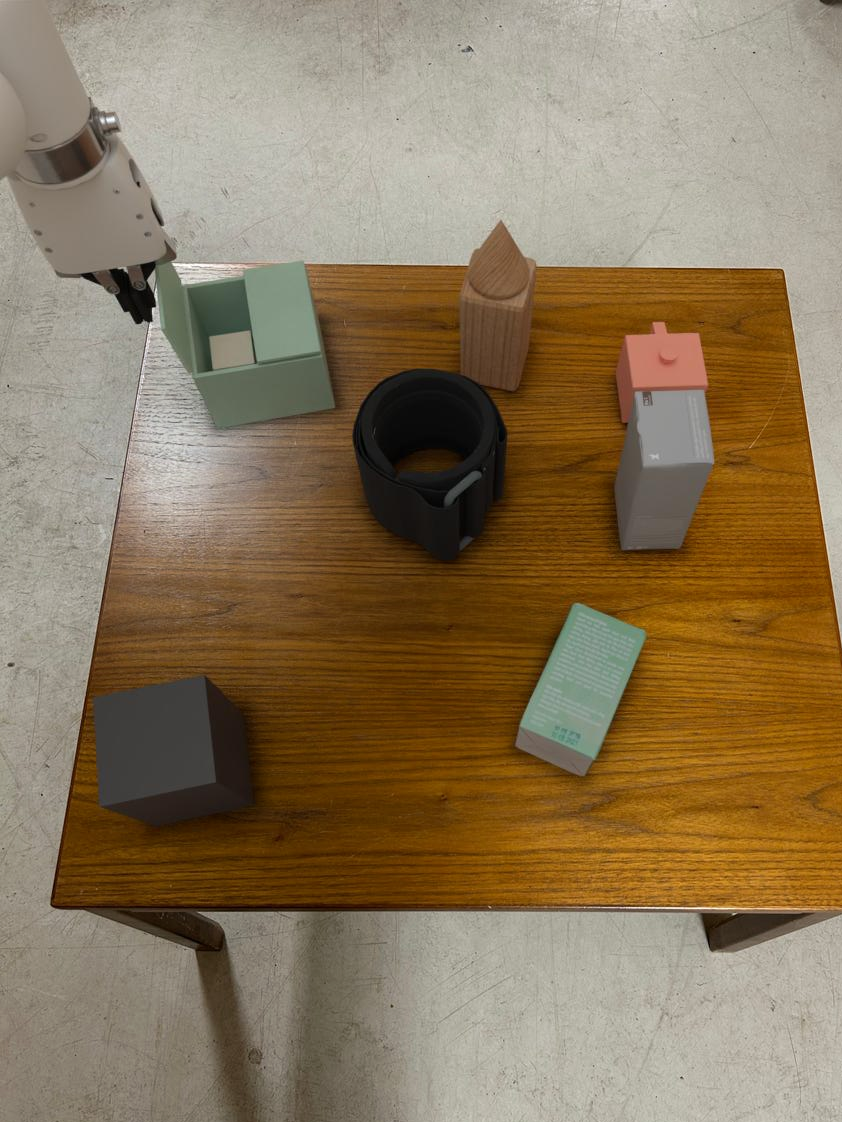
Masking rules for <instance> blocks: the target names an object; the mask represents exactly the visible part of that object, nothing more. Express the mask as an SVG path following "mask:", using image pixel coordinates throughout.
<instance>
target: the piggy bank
mask: <svg viewBox="0 0 842 1122" xmlns="http://www.w3.org/2000/svg"><path fill="white" fill-rule="evenodd" d="M665 323H666V322H665V321H652V323H651V326H650V330H649V333H648V334H626V335H624V339H623V342H622V346H621V349H620V353H619V358H618V361H617V364H616V369H615V379H616V388H617V395H618V401H619V409H620V410H619V411H620V417H621V423H622V424H628V421H629V416H630V412H631V407H632V402H633V398H634V394H635V392H639V391H678V390H704V392H705V393H706V392H707V389H708V387H709V381H708V376H707V371H706V365H705V360H704V355H703V349H702V343H701V337H700V332H680V333H679V332H677V333H674V332H673V333H668V330H667V327H666V324H665Z"/></svg>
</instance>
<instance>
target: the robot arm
mask: <svg viewBox="0 0 842 1122" xmlns="http://www.w3.org/2000/svg"><path fill="white" fill-rule="evenodd" d="M121 132H122V126H121V122H120V119H119V116H118V114H117V113H116V111H111V112H110V111H108V112H106V111H105V110H100V109H99V108H98V106H96V105H95V103H94V101H93V99H92V96H88V94H87V91H86V89H85V87H84V85H83V83H82V80H81V78H80V77H79V74H78V71H77V70H76V68H75V65H74V63H73V61H72V58H71V57H70V54H69V52H68V49H67V48H66V46H65V43H64V40H63V39H62V37H61V34H60V32H59V31H58V28H57V26H56V24H55V22H54V19H53V18H52V15H51V13H50V11H49V8H48V6H47V5H46V1H45V0H0V181H1V180H3V179H5V178H7V182H8V184H9V186H10V190H11V192H12V194H13V197H14V199H15V202H16V204H17V206H18V209H19V210H20V212H21V213H20V214H21V215H22V217H23V219H24V221H25V224H26V225H27V228H28V229H29V231H30V234H31V235H32V238H33V239H34V241H35V243H36V245H37V247H38V249H39V250H40V252H41V253H42V255H43V256H44V258H45V260H46V262H47V263H48V264H49V265H50V266H51V268H52V269H53V270H54V273H55V275H56V276H57V277H58V278H60V279H81V278H83V279H84V280H86V281H88V282H91V283H93V284H96V285H99V286H101V287H103V289H104V290H105V292H107V293H108V294H110V295H114V297H115V299H116V300H117V302H118V304H119V306H120V307H121V310H122V311H123V313H129V315H130V316H131V318H132V320H133V322H134V324H135V325H136V326H138V325H142V324H143V323H144V322H145V323H147V324H148V323H153V322H154V319H153V309H155V308H157V300H156V296H155V293H154V292H153V289H152V287H151V285H150V283H149V281H148V280H149V278H150V277H151V275H152V274H153V272H155V268H156V266H157V265H163V264H165V263H168V262H170V261H171V262H173V261H175V260H177V258H178V254H177V246H176V244H175V243H174V241H173V240H172V239H171V238H170V236H169V235H168V233H166V231H165V230H164V228H163V227H165V220H164V217H163V214H162V211H161V208H160V206H159V204H158V202H157V200H156V197H155V195H154V194H153V192H152V190H151V188H150V185H149V184H148V182H147V181H146V178H145V176H144V175H143V173H142V172H141V169H140V167H139V166H138V164H137V162H136V161H135V158H134V157H133V156H132V154H131V153H130V151H129V150H128V148H127V146H126V145H125V143H123V140H122V139H121V138H120V136H119V135H118V134H117V133H121ZM124 268H126V271H125V269H124Z"/></svg>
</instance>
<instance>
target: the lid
mask: <svg viewBox="0 0 842 1122" xmlns="http://www.w3.org/2000/svg"><path fill="white" fill-rule="evenodd" d="M172 262H173V261H170V262H168V263H165V264H163V265H157V266H156V268H155V269H154V276H155V277H154V278H155V286H156V295H157V304H158V315H159V324H160V330H161V332H162V333H163V335H164V337H165V338H166V340H167V341H168V343H169V345H170V346H171V348H172V350H173V351H174V353H175V354H176V356H177V358H178V359H179V361H180V362H181V364H182V366H183V367H184V369H185V370H186V372H187V374H192V368H191V359H190V351H189V342H188V334H187V325H186V317H185V309H184V300H183V292H182V285H183V284H182V279H181V277H180V276H179V274H178V271H177V270H176V268H175V266H174V264H173V263H172Z"/></svg>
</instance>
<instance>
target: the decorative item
mask: <svg viewBox="0 0 842 1122" xmlns="http://www.w3.org/2000/svg"><path fill="white" fill-rule="evenodd" d="M467 266H468V267H467V269H466V274H465V276H464V279H463V282H462V286H461V289H460V293H459V340H460V341H459V349H460V350H459V352H460V353H459V354H460V355H459V357H460V358H459V359H460V375H463V376H467V377H468V378H470V379H472V380H474V381H476V382H478V383H479V384H480V385H481V386H482V387H488V388H492V389H498V390H503V391H506V392H507V391H509V392H516V391H517V390H518V388H519V387H520V383H521V379H522V375H523V371H524V368H525V364H526V360H527V357H528V352H529V348H530V338H531V328H532V320H533V319H532V318H533V310H534V297H535V291H536V290H535V288H536V279H537V268H538V265H537V262H536V259H533V257H527V256H524V254H523V253H522V251H521V250H520V248H519V247H518V244H517V243H516V241H515V240H514V238H513V237H512V235H511V233H510V232H509V230H508V228H507V226H506V225H505V223H504V222H503V220H502V219H500V220H499V221H498V223H497V224H496V225H495V227H494V228H493V229H492V231H491V232H490V233H489V235H488V236H487V238H485V240H484V241H483V243H482V245H480V247H479V248H475V249H474V250H473V252H472V253H471V256H470V259H469V263H468V265H467Z"/></svg>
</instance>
